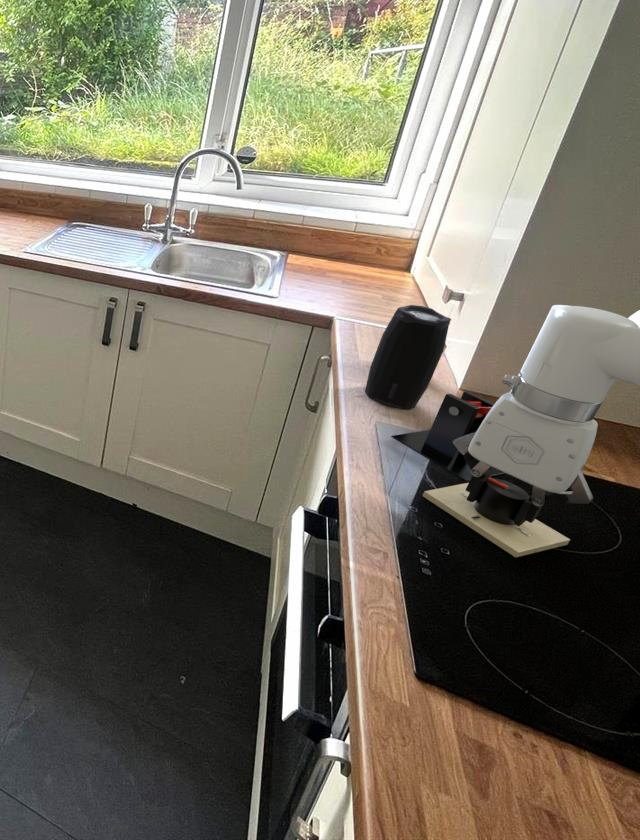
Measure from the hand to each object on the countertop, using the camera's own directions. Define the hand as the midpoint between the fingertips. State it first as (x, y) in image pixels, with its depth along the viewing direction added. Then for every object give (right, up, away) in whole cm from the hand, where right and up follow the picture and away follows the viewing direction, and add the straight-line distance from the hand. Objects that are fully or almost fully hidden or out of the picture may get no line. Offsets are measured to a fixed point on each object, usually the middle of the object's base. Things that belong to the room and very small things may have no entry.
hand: (496, 508), depth 82 cm
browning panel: (0, -3, +1) cm, 3 cm away
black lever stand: (+6, +3, +15) cm, 17 cm away
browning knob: (0, -1, 0) cm, 1 cm away
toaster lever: (+8, +11, +7) cm, 15 cm away
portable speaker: (+10, +9, +31) cm, 34 cm away
